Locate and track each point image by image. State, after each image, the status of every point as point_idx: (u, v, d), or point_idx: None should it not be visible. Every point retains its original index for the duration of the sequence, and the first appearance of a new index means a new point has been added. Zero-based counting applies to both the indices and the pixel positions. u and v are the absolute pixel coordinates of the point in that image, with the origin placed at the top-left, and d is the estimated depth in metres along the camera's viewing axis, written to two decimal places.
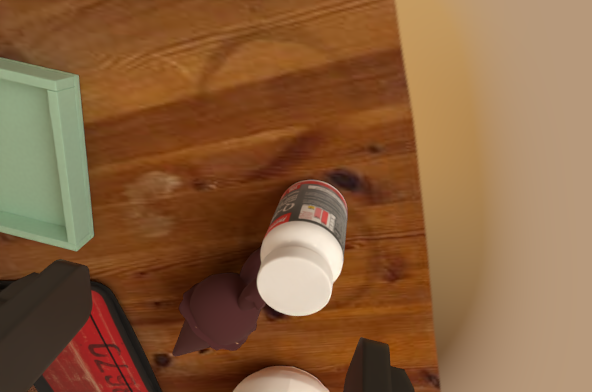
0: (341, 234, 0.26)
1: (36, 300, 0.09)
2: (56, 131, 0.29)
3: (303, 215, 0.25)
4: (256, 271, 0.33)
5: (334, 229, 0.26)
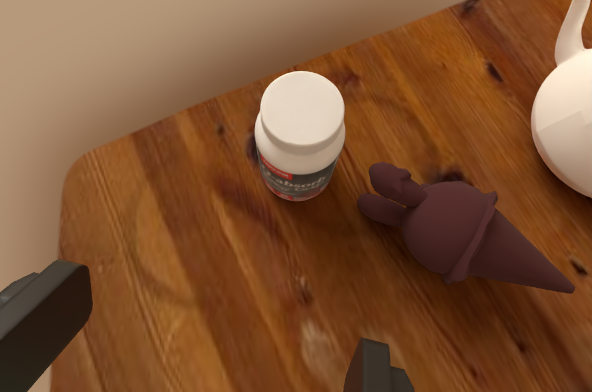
0: None
1: (36, 300, 0.09)
2: None
3: (256, 144, 0.24)
4: (384, 203, 0.28)
5: None
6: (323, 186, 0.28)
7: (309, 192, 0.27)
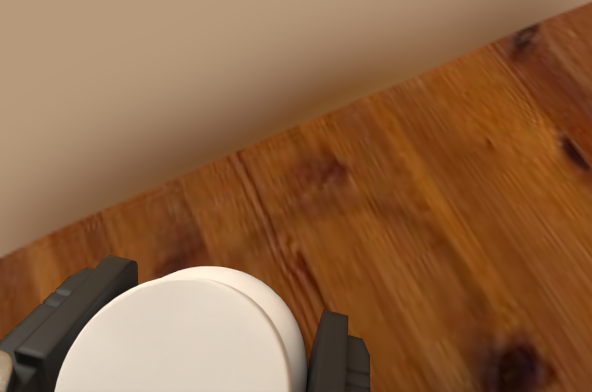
0: None
1: (96, 293, 0.10)
2: None
3: None
4: None
5: None
6: None
7: None
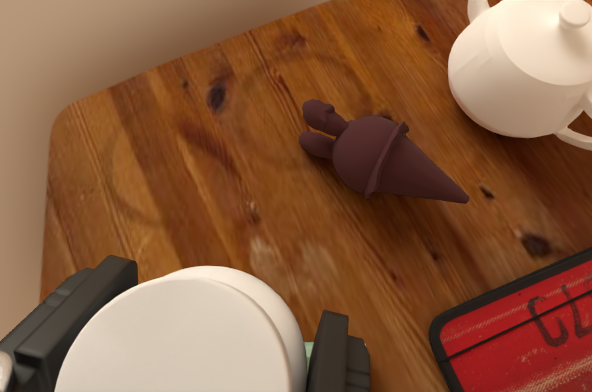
0: None
1: (96, 293, 0.10)
2: None
3: None
4: (319, 137, 0.33)
5: None
6: None
7: None
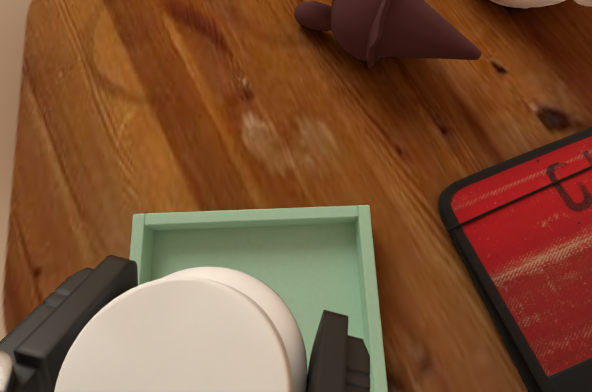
0: None
1: (96, 293, 0.10)
2: (192, 217, 0.25)
3: None
4: (316, 5, 0.30)
5: None
6: None
7: None
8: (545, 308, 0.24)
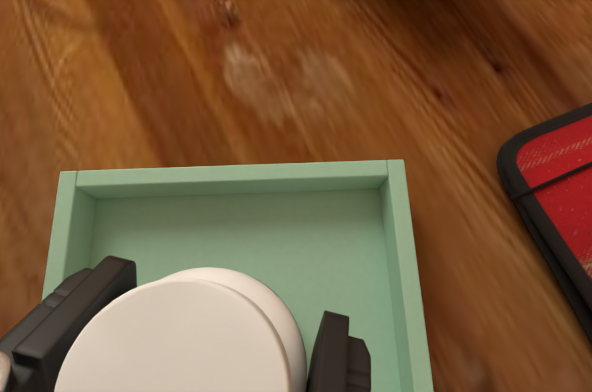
0: None
1: (94, 293, 0.10)
2: (146, 176, 0.17)
3: None
4: None
5: None
6: None
7: None
8: None
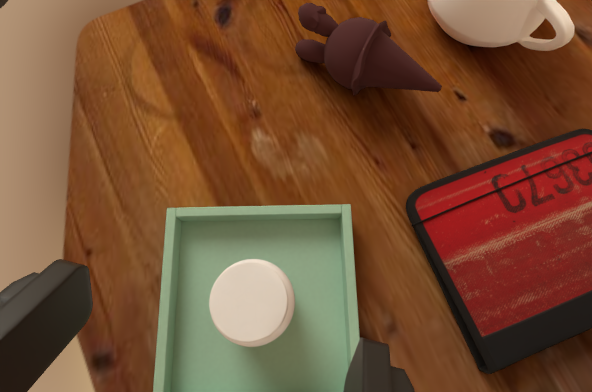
0: None
1: (36, 300, 0.09)
2: (213, 211, 0.32)
3: None
4: (313, 43, 0.38)
5: None
6: None
7: None
8: (483, 286, 0.31)
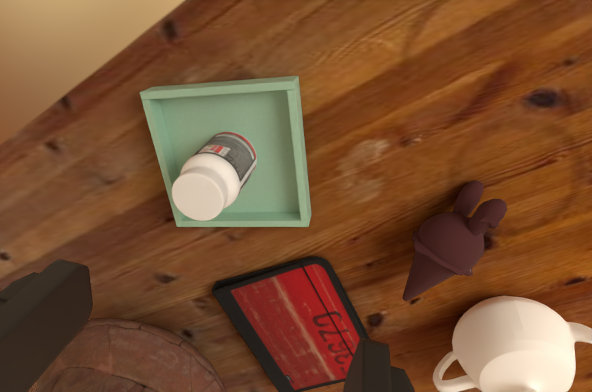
0: (235, 159, 0.35)
1: (36, 300, 0.09)
2: (293, 123, 0.36)
3: (202, 150, 0.35)
4: (473, 202, 0.38)
5: (226, 155, 0.35)
6: None
7: None
8: (261, 295, 0.48)
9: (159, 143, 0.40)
